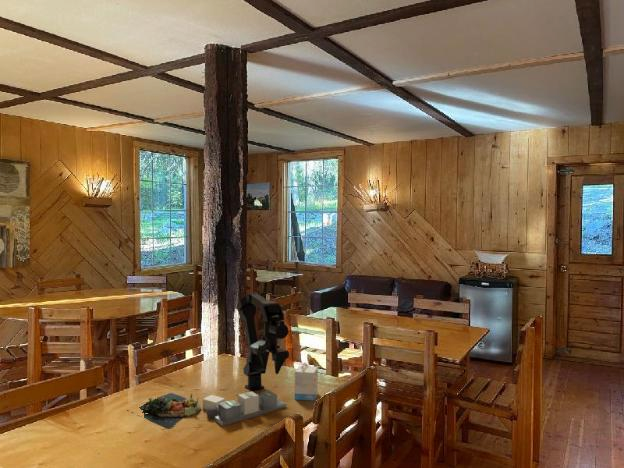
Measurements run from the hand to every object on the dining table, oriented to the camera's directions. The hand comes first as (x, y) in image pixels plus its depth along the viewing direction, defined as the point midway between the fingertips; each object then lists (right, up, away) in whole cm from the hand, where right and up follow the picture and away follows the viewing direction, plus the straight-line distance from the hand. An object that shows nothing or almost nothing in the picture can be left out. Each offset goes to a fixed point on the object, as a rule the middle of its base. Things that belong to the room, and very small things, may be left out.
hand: (270, 371), depth 186 cm
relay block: (-22, -12, -8) cm, 26 cm away
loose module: (-7, -11, -14) cm, 19 cm away
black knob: (-20, -12, -16) cm, 29 cm away
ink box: (+15, -12, +4) cm, 20 cm away
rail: (-6, -12, -13) cm, 19 cm away
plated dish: (-38, -13, -10) cm, 41 cm away
